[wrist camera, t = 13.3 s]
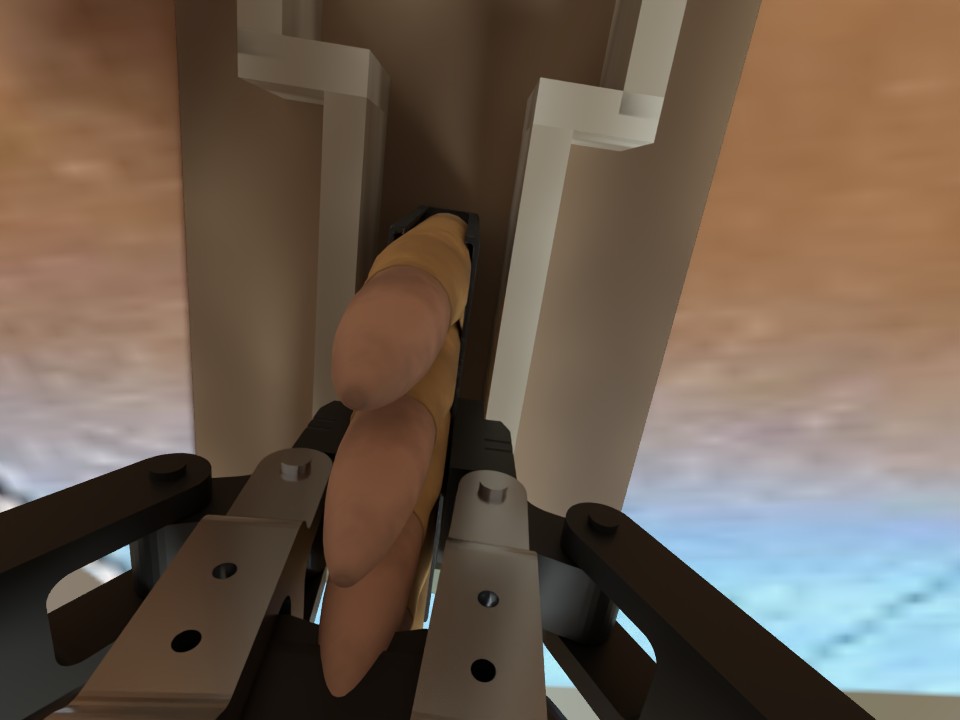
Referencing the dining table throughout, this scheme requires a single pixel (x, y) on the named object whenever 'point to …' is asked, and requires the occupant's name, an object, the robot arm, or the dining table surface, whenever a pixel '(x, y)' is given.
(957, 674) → the dining table surface
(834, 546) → the dining table surface
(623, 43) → the shallow open tray
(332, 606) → the ammunition clip
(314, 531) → the robot arm
